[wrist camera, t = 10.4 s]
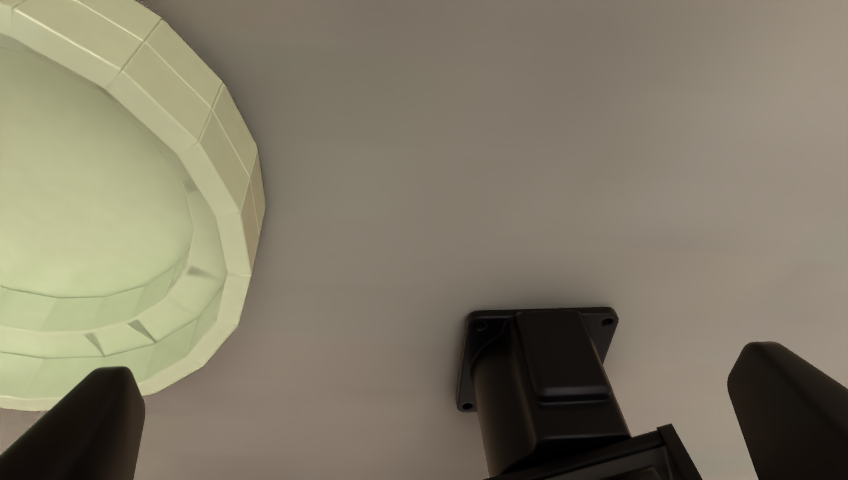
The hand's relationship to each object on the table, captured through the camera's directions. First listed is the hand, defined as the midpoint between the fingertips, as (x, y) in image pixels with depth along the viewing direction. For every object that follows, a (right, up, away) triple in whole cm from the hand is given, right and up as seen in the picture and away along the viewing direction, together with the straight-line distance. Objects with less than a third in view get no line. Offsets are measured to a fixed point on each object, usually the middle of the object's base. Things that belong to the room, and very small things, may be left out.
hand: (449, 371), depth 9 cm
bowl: (-13, +4, +10) cm, 17 cm away
